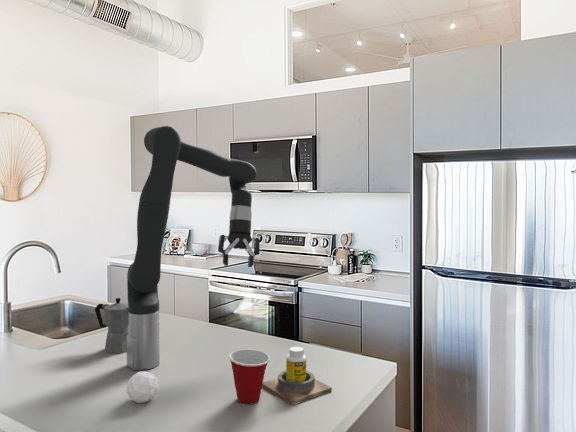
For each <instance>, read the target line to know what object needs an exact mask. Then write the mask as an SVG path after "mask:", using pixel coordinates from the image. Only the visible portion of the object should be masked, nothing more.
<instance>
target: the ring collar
mask: <svg viewBox="0 0 576 432" xmlns="http://www.w3.org/2000/svg"><path fill="white" fill-rule="evenodd" d="M262 388H263V389H265V390H267V391H268V392H270V393H271V394H272V395H274V396H276V397H277V398H279V399H281V400H283V401H284V402H286V403H287V404H289V405H290V406H294V405H296V404H299V403H302V402H305V401H308V400H310V399H313V398H315V397H318V396H322V395H324V394H328V393H330V392H332V391H333V390H332V389H333V388H332V386H330V385H327V384H326V383H324V382H322V381H319V380H318V379H316V378H315V375H314V374H313V373H312V372H311V371H308V370H306V381H305V382H296V383H294V382H289V381H286V370H284V371H281V372H280V373H279V374H278V375H277V378H273V379H270V380H266V381H263V384H262Z"/></svg>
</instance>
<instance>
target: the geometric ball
mask: <svg viewBox="0 0 576 432" xmlns="http://www.w3.org/2000/svg"><path fill="white" fill-rule="evenodd" d="M158 387H159V381H158V379H157V377H156V375H155V374H153V373H151V372H149V371H146V370H143V371H142V370H139V371H138V372H136V373H135V374H133V375H132V376H131V377H130V379H129V380H128V381H127V383H126V394H127V395H128V398H129V399H130V400H131V401H133V402H135V403H137V404H143V403H144V404H145V403H148V402H149V401H150V400H152V399H153V398H154V397H155V396H156V393H157V391H158Z"/></svg>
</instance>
